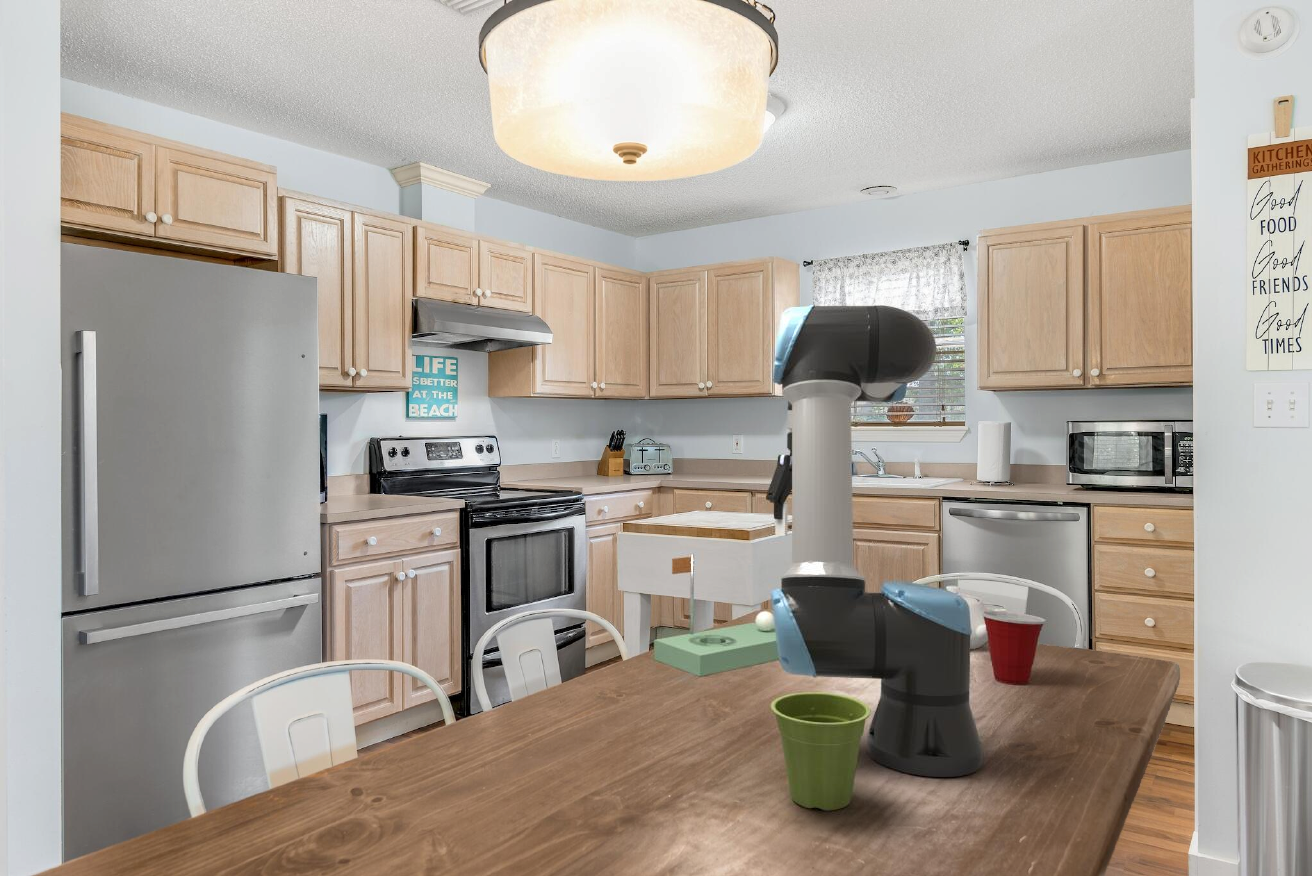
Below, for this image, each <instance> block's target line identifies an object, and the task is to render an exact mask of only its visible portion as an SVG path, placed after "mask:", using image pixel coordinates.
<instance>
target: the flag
mask: <svg viewBox="0 0 1312 876" xmlns="http://www.w3.org/2000/svg"><path fill="white" fill-rule="evenodd" d="M685 573H686V574H687V573H690V576H689V577H690V579H689V580H690V583H689V584H690V585H689V586H690V588H689V589H690V590H689V593H690V594H689V596H690V597H689V600H690V601H689V602H690V604H689V634H691V635H693V633H694V630H695V629H694V628H695V626H694V625H695V622H694V619H695V618H694V617H695V614H694V612H695V611H694V609H695V608H694V607H695V606H694V605H695V599H694V598H695V554H694V553H690V556H687V557H686V556H685V557H676V558H672V559H671V574H672V575H678V574H685Z"/></svg>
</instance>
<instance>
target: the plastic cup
mask: <svg viewBox="0 0 1312 876" xmlns="http://www.w3.org/2000/svg"><path fill="white" fill-rule="evenodd" d="M982 616H983V618H984V620H985V625H986V631H987V635H988V641H987V642H988V649H989V655H990V660H991V664H992V672H993V676H994V679H995V680H996V681H998V682H1000V683H1004V684H1008V685H1017V686H1018V685H1026V684H1029V682H1030V679H1031V675H1032V670H1033V669H1032V668H1033V665H1034V662H1035V657H1036V652H1037V648H1038V641H1039V637H1040V634H1041V632H1042V628H1043V626H1044V624H1045V623H1046V622H1047V620H1046V619H1045V618H1043V617H1040V616H1036V615H1032V614H1026V613H1019V612H1013V611H1006V612H1005V611H994V610H987V611H982Z"/></svg>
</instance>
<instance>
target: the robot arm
mask: <svg viewBox="0 0 1312 876" xmlns="http://www.w3.org/2000/svg"><path fill="white" fill-rule="evenodd" d="M777 334H778V335H777V340H776V341H777V342H776V347H775V356H774V364H773V370H772V371H773V372H772V382H773V383H774V384H777V385H780V386H781V389H782V390H781V393H782V397H783V398H784V399H785V400H786V401H787V415H786V416H787V420H786V421H787V422H786V423H787V424H786V428H787V430H789V432H787V434H786V437H787V438H786V448H787V450H789V454H779V455H777V462H776V463H777V464H776V467H775V471H774V473H773V476H772V479H771V482H770V484H769V488H768V490H767V493H766V496H765V500H766V501H769V503H772V504H773V519H774V520H775V525H774V526H775V527H774V532H775V533H774V535H775V536H782V537H788V525H789V524H788V517H789V516H788V511H789V509H788V503H785V502H786V501H787V499H788V497H789V495H790V494H791V495H792V496H791V506H792V508H791V509H792V511H791V518H792V519H791V521H792V523H791V526H792V528H791V535H792V536H791V547H792V548H791V549H792V553H791V557H792V558H791V566H790V567H789V569H787V571H786V572H785V573H784V574H782V576H781V583H780V584H781V586H780V588H778V587H777V588H776V589H773V590H771V592H770V594H771V595H770V596H771V604H772V615H773V617H774V625H775V633H776V641H777V648H778V655H779V660H778V661H779V665H780V666H781V668H782V669H783V670H784V671H785V673H788V674H790V675H796V676H797V675H798V676H808V677H812V678H817V677H818V678H819V677H822V678H846V679H847V678H849V679H870V680H871V679H875V680H877V679H878V680H880V697H879V700H878V703H877V707H876V708H875V712H874V714H873V717H872V720H871V722H870V723H871V724H870V727H869V729H868V732H867V743H866V744H867V745H866V746H867V747H866V749H867V753H868V755H869V757H870V758H871V759H873V760H874V761H875V762H877V763H879V764H881V765H883V766H885V767H887V768H888V769H889V768H890V769H892V770H896V771H899V772H902V773H905V774H911V775H917V776H924V777H933V778H953V777H961V776H967V775H970V774H973V773H976V772H977V771H978V770H980V769H981V768H982V766H983V763H984V761H983V758H984V757H983V755H984V754H983V752H984V751H983V750H984V749H983V744H982V743H983V742H982V741H981V739H980V736H979V732H978V731H979V730H978V729H977V725H976V722H975V718H974V716H973V712H972V710H971V705H970V688H971V687H970V686H971V682H970V680H971V649H970V635H971V634H972V630H971V623H970V610H969V606H968V603H967V602H966V600H965V599H964V598H962V597H961V596H959V595H958V594H959V593H956V594H955V593H953V592H950V591H948V590H947V589H944V588H940V587H935V586H931V585H927V584H922V583H916V582H909V581H899V580H897V581H895V580H894V581H891V580H888V581H884V582H883V583H882V586H881V587H880V592H867V591H866V579H865V577H864V576H863V575H862V574H861V573H860V572H859V571H858V570H857V569H856V567H855V564H854V527H853V526H854V524H853V523H854V520H853V513H854V511H853V508H854V507H853V461H852V460H853V457H852V452H853V451H852V449H853V447H852V407H851V406H852V404H853V403H854V402H866V403H868V402H870V403H872V402H873V403H875V402H876V403H892V402H893V403H894V402H902V401H903V400H904V398H905V396H906V393H907V387H908V386H907V385H908V384H910V383H913V382H915V381H917V380H919V379H920V378H922V377H923V376H925V375H926V374H927V373H928V371H929V370H930V369H931V368H932V367H933V364H934V362H935V360H936V356H937V343H936V339H935V336H934V333H932V331H931V329H930V327H929V326H928V325H927V324H926V323H925V322H924V321H923V320H921V319H920V318H919V317H917V316H916V315H914V314H913V313H911V312H910V311H906V310H904V309H901V308H898V307H894V306H889V305H878V304H877V305H814V304H811V305H809V306H808V305H807V306H791V307H789V308H787V309H786V310H784V311H783V313H782V314H781V317H780V321H779V327H778V332H777Z"/></svg>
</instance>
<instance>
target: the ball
mask: <svg viewBox="0 0 1312 876" xmlns="http://www.w3.org/2000/svg"><path fill="white" fill-rule="evenodd" d="M755 622H756V626H757V627H758V628H759V629H760V630H762V631H770V630H771V629H772V628H773V627H774V617H773V613H771V612H769V611H766V610H764V611H760V612H759V613H758V614H757V615H756V617H755Z"/></svg>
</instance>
